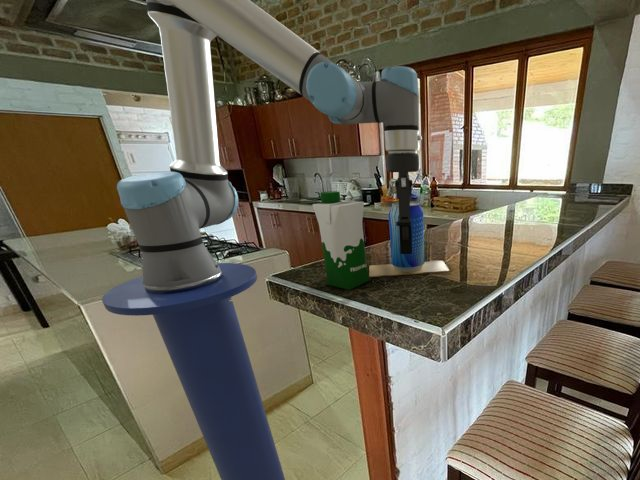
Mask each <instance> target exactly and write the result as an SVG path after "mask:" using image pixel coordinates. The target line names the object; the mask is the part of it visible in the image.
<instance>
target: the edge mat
mask: <svg viewBox="0 0 640 480" xmlns="http://www.w3.org/2000/svg"><path fill="white" fill-rule="evenodd" d="M448 272H450V269H449V267H448V266H447V264H445V262H444V261H443V260H430V261H429V260H428V261H424V264H423V266H422V268H421V269H420V270H417V271H413V272H401V271H397V270H396V269H395V267H394V266H393V265H392V263H388V264H370V265H369V267H368V274H369V278H381V277H394V276H406V275H407V276H409V275H421V274H435V273H448Z"/></svg>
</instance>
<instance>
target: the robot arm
mask: <svg viewBox="0 0 640 480" xmlns="http://www.w3.org/2000/svg"><path fill="white" fill-rule="evenodd" d="M145 2H146V3H145V4H146V8H147V9H146V10H147V15H148V16H149V18H150V19H151V20H152V21H153V22H154V23H155V24H156V26H157V27H158V29H159V36H160V44H161V51H162V58H163V64H164V73H165V74H164V75H165V81H166V88H167V97H168V103H169V112H170V118H171V126H172V134H173V141H174V149H175V156H176V158H175V160H174V161H173V162H171V163H170V164H169V170H170V171H157V172H149V173H142V174H135V175H131V176H127V177H125V178H122V179H120V180H119V181H118V182H117V184H116V190H117V192H118V196H119V198H120V205H121V206H122V208H123V211H124V212H125V215H126V219H127V220H128V223H129V225H130V227H131V230H132V233H133V235H134V238H135V240H136V242H137V245H138V247H139V249H140V252H141V257H142V260H141V261H142V265H141V266H142V269H141V270H142V271H141V272H142V276H143V278H142V281H143V285H144V287H145V290H146V291H147V292H149V293H154V294H169V293H178V292H184V291H190V290H194V289H198V288H202V287H205V286H208V285H210V284H213V283H215V282H217V281H218V280H220V279H221V278H222V276H223V275H222V272H221V269H220V267H219V266H218V264H217V263H218V262H217V261H216V260H215V259H214V257H213V256H212V254H211V252H209V251H210V250H208V249H207V247H206V246H205V243H204V239H203V236H202V234H201V230H202V229H204V228H208V227H211V226H216V225H220V224H223V223H224V222H226V221H228V220H230V219H231V218H232V217H233V216H235V214H236V213H237V210H238V207H239V195H238V192H237V190H236V188H235V187H234V186H233V185H232V182H231V181H229V177H228V175H229V173H228V170H226V169H225V168H224V167H223V166H222V165H221V163H220V152H219V151H220V150H219V139H218V127H217V126H218V125H217V116H216V115H217V114H216V101H215V90H214V89H215V88H214V79H213V78H214V77H213V75H214V74H213V64H212V52H211V42H212V41H213V40H214V39H215V38H216V37H219V38H220V39H221V40H223V41H224V42H226V43H227V44H229V45H230V46H231V47H233V48H234V49H236V50H237V51H238V52H240V53H241V54H242V55H244V56H245V57H247V58H248V59H250V60H252V61H253V62H254V63H256V64H257V65H258V66H259V67H261V68H262V69H264V70H265V71H267V72H268V73H270V74H271V75H273V76H274V77H275V78H277V79H278V80H280V81H281V82H282V83H284V84H285V85H286V86H288V87H290V88H291V89H292V90H294V91H295V92H296V93H298V94H300V95H301V96H302V97H304V98H305V99H306V100H307V101H309V102H310V103H311V104H312V105H313V106H314V107H315V109H317V110H318V111H319V112H320V113H323V114H324V115H325V116H327V118H328V119H329V122H331V123H332V124H334V125H346V126H348V125H355V124H356V125H358V124H375V123H377V124H383V125H384V132H383V133H384V147H385V151H386V152H387V154H386V156H385V160H386V171H387V172H388V173H397V174H398V175H397V179H396V180H395V181H394V186H395V190H396V199H397V200H398V202H399V222H396V226H399V234H400V254H412V237H411V225H410V224H411V220H410V202H411V200H412V198H413V195H412V194H413V193H412V192H413V179H410V175H409V173H415V172H416V173H417V172H420V169H421V167H420V166H421V163H420V162H421V161H420V159H421V158H420V154H419V153H417V151H419V150H420V142H419V141H422V140H423V137H422V135H419V134H420V131H419V130H420V109H419V107H420V101H419V100H420V94H419V81H418V73H417V72H416V70H415V69H413V68H412V67H409V66H402V65H397V66H391V67H390V66H387V67H385V68H383V69H382V71H381V76H380V80H375V81H357V80H356V78H354V77H353V76H352V75H351V74H350V73H349V72H348V71H346V70H345V69H344V68H343V67H342V66H340V65H339V64H337V63H334V62H333V61H332V60H331V59H329V58H328V57H327V56H325V55H323V54H322V53H321V52H320V51H319V50H318V49H316V48H315V47H314V46H312V45H311V44H310V43H308V42H306V40H304V39H302V38H301V36H299V35H297V34H296V33H294V31H292V30H291V29H289V28H288V27H286V26H285V25H284V24H283V23H281V22H280V21H278V20H277V19H276V18H275V17H273V16H272V15H271V14H269V13H268V12H267V11H265V10H264V9H262V8H261V7H260V6H258V5H257V4H256V3H255V2H254V1H252V0H145ZM200 229H201V230H200Z"/></svg>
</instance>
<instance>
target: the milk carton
mask: <svg viewBox="0 0 640 480" xmlns="http://www.w3.org/2000/svg"><path fill="white" fill-rule="evenodd" d="M319 195H320V201H321V202H316V203H313V204H312V208H313V211H314V213H315V217H316V220H317V223H318V226H319V232H320V233H319V234H320V239H321V246H322V252H323V259H324V267H325V277H326V278H325V279H326V285H327V286H331V287H336V288H341V289H345V290H353V289H355V288H356V287H358V286H362V285H363V284H365V283H367V282H369V281H370V277H369V268H368V265H367V257H366V247H365V238H364V226H363V219H364V218H363V217H364V208H365V207H364V205H365V202H364V201H356V200H345V199H344V200H341V194H340V191H337V190H336V191H335V190H334V191H332V190H331V191H321V192H320V194H319Z"/></svg>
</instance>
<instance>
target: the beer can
mask: <svg viewBox="0 0 640 480" xmlns="http://www.w3.org/2000/svg"><path fill="white" fill-rule="evenodd" d="M410 220H411V224H410V225H411V237H412V254H400V234H399V226H396V222H399V201H397V202H393V203H391V208H390V210H389V211H388V225H389V241H390V256H391V264H392V265H393V266H394V267H395V269H396V270H397V271H401V272H413V271H417V270H420V269H421V268H422V266H423V264H424V262H425V224H424V221H425V220H424V211H423V209H422V207H421V206H420V202H419V201H410Z"/></svg>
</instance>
